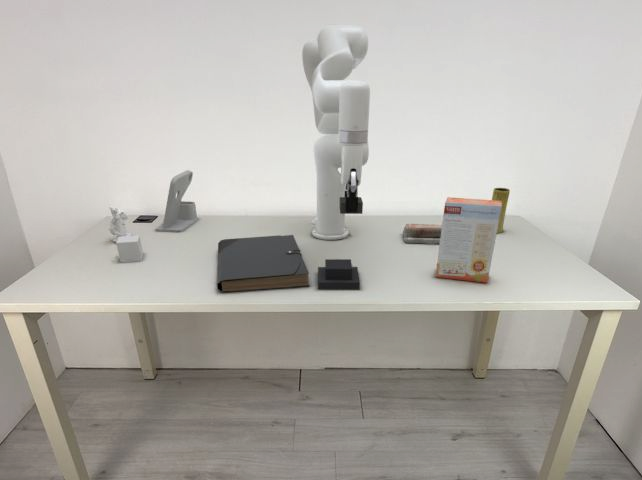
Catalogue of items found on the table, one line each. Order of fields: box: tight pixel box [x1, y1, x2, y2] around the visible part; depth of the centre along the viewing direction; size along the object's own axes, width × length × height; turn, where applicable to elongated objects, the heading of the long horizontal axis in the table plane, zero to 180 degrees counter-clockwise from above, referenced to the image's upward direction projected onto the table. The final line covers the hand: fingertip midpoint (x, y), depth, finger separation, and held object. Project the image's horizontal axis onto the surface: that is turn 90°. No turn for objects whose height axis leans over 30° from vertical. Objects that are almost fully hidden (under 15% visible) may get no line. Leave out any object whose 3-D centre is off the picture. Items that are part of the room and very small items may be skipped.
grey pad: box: [339, 196, 364, 215], centre depth 129 cm, size 6×6×3 cm
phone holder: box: [155, 169, 199, 233], centre depth 168 cm, size 17×10×18 cm, turn 172°
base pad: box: [317, 266, 361, 290], centre depth 128 cm, size 11×11×2 cm
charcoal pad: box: [324, 258, 353, 279], centre depth 126 cm, size 7×7×3 cm
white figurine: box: [108, 205, 133, 243], centre depth 154 cm, size 8×7×12 cm
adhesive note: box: [115, 234, 144, 263], centre depth 142 cm, size 6×6×6 cm
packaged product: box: [402, 223, 442, 245], centre depth 158 cm, size 18×5×10 cm
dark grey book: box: [216, 234, 310, 294], centre depth 136 cm, size 33×4×24 cm
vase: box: [491, 187, 511, 234], centre depth 164 cm, size 6×6×14 cm
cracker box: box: [435, 196, 502, 284], centre depth 126 cm, size 14×6×21 cm, turn 71°
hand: (350, 207), depth 130 cm, fingers closed on grey pad, 6 cm apart
